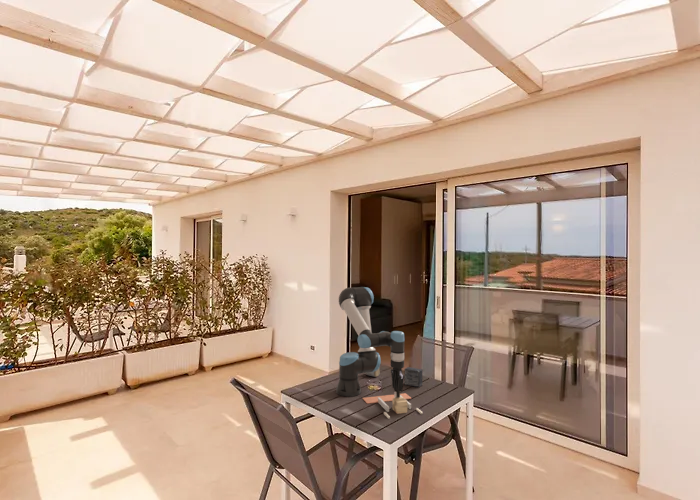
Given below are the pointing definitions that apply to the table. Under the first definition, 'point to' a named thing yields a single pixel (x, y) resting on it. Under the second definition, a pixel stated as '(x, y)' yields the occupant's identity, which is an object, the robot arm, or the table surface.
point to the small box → (413, 377)
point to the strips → (389, 416)
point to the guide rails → (388, 406)
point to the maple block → (399, 405)
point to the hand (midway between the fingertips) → (397, 402)
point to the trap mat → (384, 398)
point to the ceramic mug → (374, 373)
